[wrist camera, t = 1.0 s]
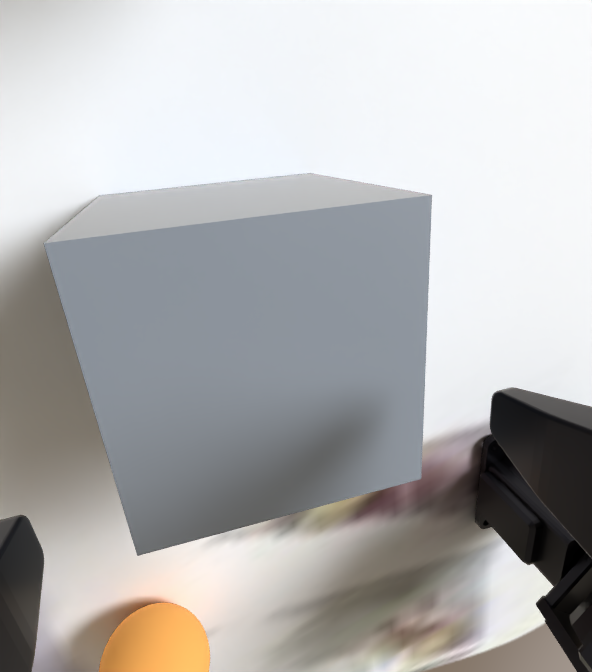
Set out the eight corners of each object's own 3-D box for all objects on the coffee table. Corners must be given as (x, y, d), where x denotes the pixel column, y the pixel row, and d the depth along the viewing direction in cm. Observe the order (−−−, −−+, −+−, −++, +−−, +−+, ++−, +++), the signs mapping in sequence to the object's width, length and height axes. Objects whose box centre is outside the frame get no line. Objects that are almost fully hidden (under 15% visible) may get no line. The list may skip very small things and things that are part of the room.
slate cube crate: (310, 173, 18) (431, 194, 10) (321, 353, 21) (420, 478, 13) (99, 195, 16) (43, 243, 8) (145, 387, 19) (137, 555, 11)
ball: (196, 567, 23) (205, 666, 19) (211, 631, 25) (223, 734, 21) (93, 596, 22) (77, 709, 18) (117, 661, 24) (108, 777, 20)
